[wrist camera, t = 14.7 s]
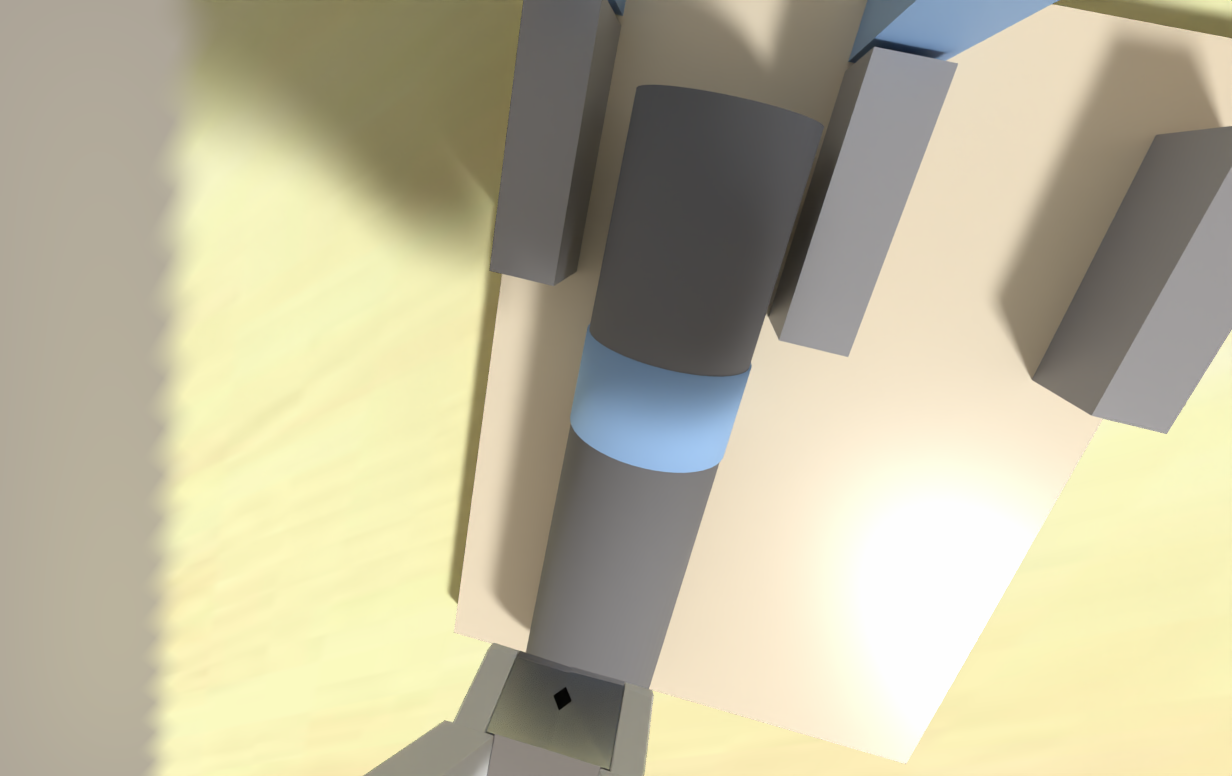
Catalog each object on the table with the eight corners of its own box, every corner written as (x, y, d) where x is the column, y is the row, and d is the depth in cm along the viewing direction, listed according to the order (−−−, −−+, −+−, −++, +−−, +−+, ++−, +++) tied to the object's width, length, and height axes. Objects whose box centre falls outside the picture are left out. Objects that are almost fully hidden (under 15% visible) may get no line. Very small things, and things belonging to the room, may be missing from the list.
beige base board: (561, -73, 14) (516, -153, 11) (1267, 63, 13) (1458, 21, 10) (464, 613, 22) (422, 688, 19) (896, 737, 21) (932, 841, 17)
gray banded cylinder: (630, 96, 14) (639, 72, 10) (791, 135, 14) (859, 125, 10) (523, 650, 20) (504, 763, 16) (635, 665, 21) (642, 780, 17)
